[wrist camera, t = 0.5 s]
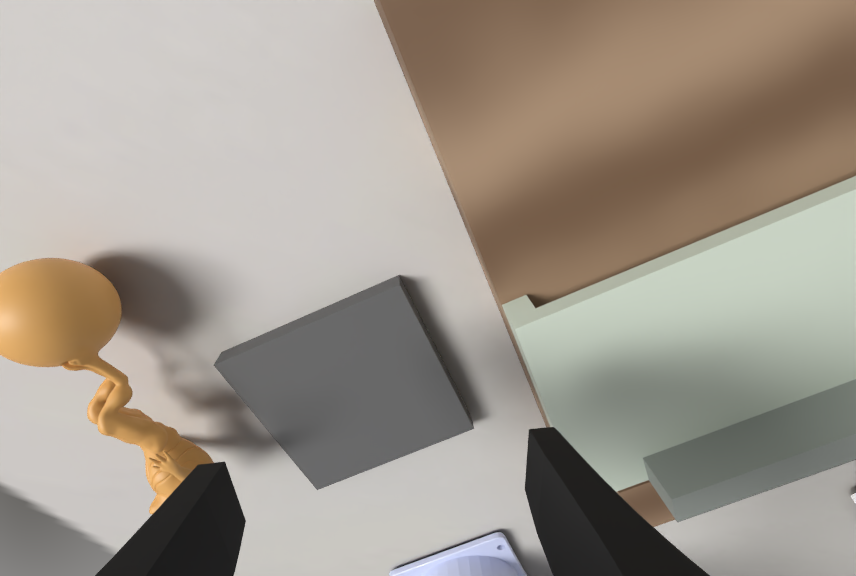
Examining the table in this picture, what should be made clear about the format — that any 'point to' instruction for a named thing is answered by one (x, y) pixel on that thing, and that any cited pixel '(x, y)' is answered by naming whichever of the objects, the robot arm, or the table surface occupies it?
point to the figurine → (87, 356)
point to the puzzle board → (624, 128)
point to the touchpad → (853, 497)
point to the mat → (349, 385)
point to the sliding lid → (710, 359)
